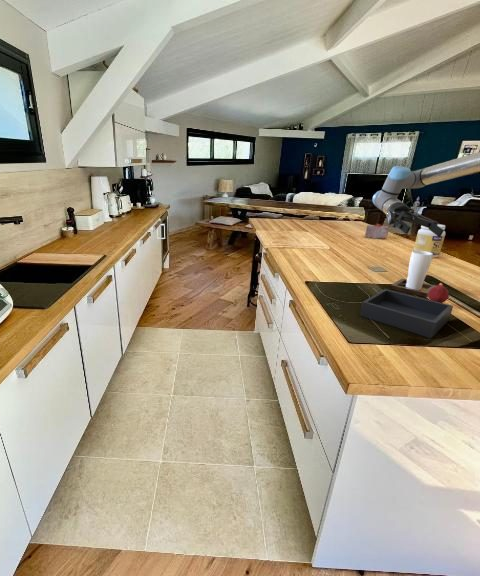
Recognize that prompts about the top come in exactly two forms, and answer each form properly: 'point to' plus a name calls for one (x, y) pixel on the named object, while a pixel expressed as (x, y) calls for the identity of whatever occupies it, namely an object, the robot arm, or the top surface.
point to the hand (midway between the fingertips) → (424, 232)
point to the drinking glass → (418, 269)
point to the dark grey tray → (407, 312)
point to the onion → (438, 293)
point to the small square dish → (409, 290)
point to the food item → (376, 231)
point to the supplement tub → (429, 241)
